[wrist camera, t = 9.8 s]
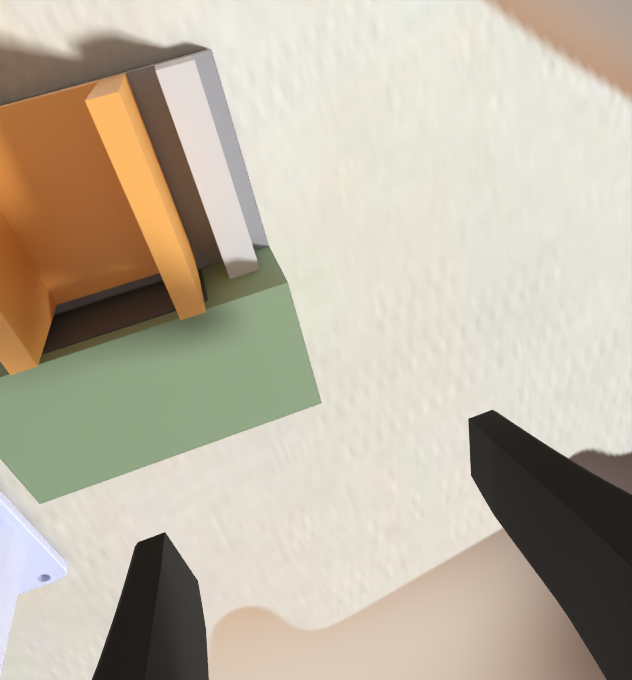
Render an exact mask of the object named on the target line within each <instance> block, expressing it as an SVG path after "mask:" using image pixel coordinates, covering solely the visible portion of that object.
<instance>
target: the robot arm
mask: <svg viewBox="0 0 632 680" xmlns="http://www.w3.org/2000/svg"><path fill="white" fill-rule="evenodd" d="M469 440H470V462H471V476H472V478H473V480H474V481H475V483H476V485H477V487H478V488H479V490H480V492H481V494H482V495H483V497H484V499H485V501H486V502H487V504H488V506H489V507H490V509H491V511H492V512H493V514H494V516H495V517H496V518H497V520H498V521H499V523H500V524H501V525H502V527H503V528H504V529H505V531H506V532H507V533H508V535H509V536H510V538H511V539H512V540H513V542H514V543H515V544H516V546H517V547H518V548H519V550H520V551H521V552H522V554H523V555H524V557H525V558H526V559H527V561H528V562H529V563H530V565H531V566H532V567H533V568H534V570H535V571H536V573H537V574H538V575H539V577H540V578H541V579H542V581H543V582H544V583H545V585H546V586H547V587H548V589H549V590H550V592H551V593H552V594H553V596H554V597H555V598H556V600H557V601H558V603H559V604H560V606H561V607H562V608H563V610H564V611H565V613H566V614H567V616H568V617H569V619H570V620H571V622H572V623H573V625H574V627H575V628H576V630H577V631H578V633H579V635H580V637H581V638H582V640H583V641H584V643H585V645H586V646H587V648H588V649H589V651H590V653H591V654H592V656H593V658H594V659H595V661H596V662H597V664H598V666H599V668H600V669H601V671H602V672H603V674H604V676H605V678H606V679H607V680H632V495H631V494H629V493H627V492H625V491H624V490H622V489H620V488H618V487H616V486H615V485H612V484H611V483H609V482H607V481H605V480H604V479H602V478H600V477H599V476H597V475H595V474H593V473H592V472H590V471H588V470H587V469H585V468H583V467H582V466H580V465H578V464H577V463H575V462H573V461H572V460H570V459H568V458H567V457H565V456H563V455H562V454H560V453H558V452H557V451H555V450H554V449H552V448H550V447H549V446H547V445H546V444H544V443H543V442H541V441H540V440H538V439H537V438H535V437H533V436H532V435H530V434H529V433H527V432H526V431H524V430H523V429H521V428H520V427H518V426H517V425H515V424H514V423H512V422H511V421H509V420H508V419H506V418H505V417H503V416H502V415H500V414H499V413H497V412H496V411H494V410H491V411H488V412H485V413H483V414H480V415H477V416H475V417H472V418H469ZM67 570H68V564H67V563H66V562H65V560H64V559H63V558H62V557H61V556H60V555H59V554H58V553H57V552H56V551H55V550H54V549H53V548H52V546H51V545H50V544H49V543H48V542H47V541H46V540H45V539H44V538H43V537H42V536H41V535H40V534H39V532H38V531H37V530H36V529H35V528H34V527H33V526H32V525H31V524H30V523H29V522H28V521H27V520H26V518H25V517H24V516H23V515H22V514H21V513H20V512H19V511H18V510H17V509H16V508H15V507H14V506H13V504H12V503H11V502H10V501H9V500H8V499H7V498H6V497H5V496H4V495H3V494H2V493H1V492H0V675H1V670H2V666H3V661H4V657H5V652H6V648H7V643H8V639H9V634H10V630H11V625H12V621H13V616H14V612H15V607H16V603H17V598H18V595H19V594H22V593H24V592H27V591H30V590H32V589H35V588H38V587H40V586H43V585H46V584H48V583H51V582H54V581H56V580H59V579H61V578H63V577H65V576H66V574H67ZM92 680H209V677H208V658H207V641H206V627H205V621H204V614H203V608H202V602H201V596H200V590H199V585H198V580H197V579H196V577H195V576H194V575H193V573H192V572H191V570H190V569H189V567H188V566H187V564H186V563H185V561H184V560H183V558H182V557H181V555H180V554H179V552H178V551H177V549H176V548H175V546H174V545H173V543H172V542H171V540H170V539H169V537H168V536H167V534H166V533H165V532H164V533H162V534H159V535H156V536H154V537H151V538H148V539H146V540H143V541H140V542H138V543H137V545H136V546H135V548H134V552H133V556H132V559H131V563H130V566H129V570H128V573H127V577H126V580H125V583H124V587H123V590H122V593H121V597H120V600H119V603H118V606H117V609H116V613H115V616H114V619H113V622H112V625H111V628H110V630H109V633H108V636H107V639H106V642H105V645H104V648H103V651H102V654H101V657H100V660H99V662H98V665H97V668H96V670H95V673H94V676H93V678H92Z"/></svg>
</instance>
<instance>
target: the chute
mask: <svg viewBox="0 0 632 680" xmlns="http://www.w3.org/2000/svg"><path fill="white" fill-rule="evenodd" d="M158 273H160V274H161V277H162V279H163V281H164V283H165V286H166V288H167V290H168V293H169V295H170V297H171V299H172V302H173V304H174V306H175V309H176V311H177V313H178V316H179V318H180V320H183V319H187V318H190V317H193V316H196V315H199V314H202V313H205V312H206V310H205V305H204V299H203V294H202V289H201V284H200V279H199V274H198V268H197V263H196V258H195V254H194V251H193V248H192V246H191V243H190V241H189V238H188V235H187V233H186V230H185V227H184V225H183V222H182V220H181V217H180V214H179V212H178V209H177V206H176V204H175V201H174V199H173V196H172V193H171V191H170V188H169V185H168V183H167V180H166V178H165V175H164V172H163V170H162V167H161V164H160V162H159V159H158V157H157V154H156V151H155V149H154V146H153V143H152V141H151V138H150V136H149V133H148V130H147V128H146V125H145V123H144V120H143V117H142V115H141V112H140V109H139V107H138V104H137V102H136V99H135V96H134V94H133V91H132V88H131V86H130V83H129V81H128V78H127V75H126V73H123V74H119V75H115V76H111V77H108V78H104V79H100V80H96V81H93V82H89V83H85V84H81V85H77V86H74V87H70V88H66V89H62V90H59V91H55V92H51V93H47V94H43V95H40V96H36V97H32V98H28V99H25V100H21V101H17V102H13V103H9V104H6V105H2V106H0V362H1V363H2V364H3V366H4V367H5V368H6V370H7V371H8V372H9V374H10V375H13V374H16V373H19V372H22V371H25V370H28V369H31V368H34V367H38V364H39V361H40V358H41V355H42V351H43V348H44V345H45V342H46V338H47V335H48V332H49V329H50V326H51V322H52V319H53V316H54V313H55V309H56V306H57V305H58V304H61V303H65V302H68V301H71V300H74V299H78V298H81V297H84V296H87V295H90V294H94V293H97V292H100V291H103V290H107V289H110V288H113V287H116V286H119V285H123V284H126V283H129V282H132V281H136V280H139V279H142V278H145V277H148V276H152V275H155V274H158Z"/></svg>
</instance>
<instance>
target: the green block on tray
mask: <svg viewBox="0 0 632 680" xmlns="http://www.w3.org/2000/svg"><path fill="white" fill-rule="evenodd" d="M123 73H126V75H127V78H128V81H129V83H130V86H131V88H132V91H133V94H134V96H135V99H136V102H137V104H138V107H139V109H140V112H141V115H142V117H143V120H144V123H145V125H146V128H147V130H148V133H149V136H150V138H151V141H152V143H153V146H154V149H155V151H156V154H157V157H158V159H159V162H160V164H161V167H162V170H163V172H164V175H165V178H166V180H167V183H168V185H169V188H170V191H171V193H172V196H173V199H174V201H175V204H176V206H177V209H178V212H179V214H180V217H181V220H182V222H183V225H184V227H185V230H186V233H187V235H188V238H189V241H190V243H191V246H192V248H193V251H194V254H195V258H196V263H197V268H198V274H199V279H200V284H201V289H202V294H203V299H204V305H205V310H206V312H205V313H202V314H199V315H196V316H193V317H190V318H187V319H183V320H180V318H179V316H178V313H177V311H176V309H175V306H174V304H173V302H172V299H171V297H170V295H169V293H168V290H167V288H166V286H165V283H164V281H163V279H162V277H161V274H160V273H158V274H155V275H152V276H148V277H145V278H142V279H139V280H136V281H132V282H129V283H126V284H123V285H119V286H116V287H113V288H110V289H107V290H103V291H100V292H97V293H94V294H90V295H87V296H84V297H81V298H78V299H74V300H71V301H68V302H65V303H61V304H58V305H57V306H56V309H55V313H54V316H53V319H52V322H51V326H50V329H49V332H48V335H47V338H46V342H45V345H44V348H43V351H42V355H41V358H40V361H39V364H38V367H34V368H31V369H28V370H25V371H22V372H19V373H16V374H13V375H10V374H9V372H8V371H7V370H6V368H5V367H4V366H3V364H2V363H1V362H0V459H1V460H2V461H3V462H4V464H5V465H6V466H7V467H8V468H9V469H10V470H11V472H12V473H13V474H14V475H15V476H16V477H17V478H18V480H19V481H20V482H21V483H22V484H23V485H24V486H25V488H26V489H27V490H28V491H29V492H30V493H31V494H32V496H33V497H34V498H35V499H36V500H37V501H38V502H39V504H42V503H44V502H47V501H50V500H53V499H56V498H58V497H61V496H64V495H67V494H70V493H72V492H75V491H78V490H81V489H83V488H86V487H89V486H92V485H95V484H97V483H100V482H103V481H106V480H109V479H111V478H114V477H117V476H120V475H123V474H125V473H128V472H131V471H134V470H137V469H139V468H142V467H145V466H148V465H150V464H153V463H156V462H159V461H162V460H164V459H167V458H170V457H173V456H176V455H178V454H181V453H184V452H187V451H190V450H192V449H195V448H198V447H201V446H203V445H206V444H209V443H212V442H215V441H217V440H220V439H223V438H226V437H229V436H231V435H234V434H237V433H240V432H243V431H245V430H248V429H251V428H254V427H256V426H259V425H262V424H265V423H268V422H270V421H273V420H276V419H279V418H282V417H284V416H287V415H290V414H293V413H296V412H298V411H301V410H304V409H307V408H309V407H312V406H315V405H318V404H321V403H322V402H321V399H320V395H319V392H318V388H317V385H316V381H315V378H314V374H313V370H312V367H311V363H310V360H309V356H308V353H307V349H306V346H305V342H304V338H303V335H302V331H301V328H300V324H299V321H298V317H297V314H296V310H295V306H294V303H293V299H292V296H291V292H290V289H289V285H288V282H287V280H286V278H285V276H284V274H283V272H282V270H281V268H280V267H279V265H278V263H277V261H276V259H275V257H274V255H273V253H272V251H271V249H270V247H269V245H268V241H267V238H266V235H265V231H264V228H263V224H262V221H261V217H260V214H259V211H258V207H257V204H256V200H255V197H254V194H253V190H252V187H251V183H250V180H249V176H248V173H247V170H246V166H245V163H244V159H243V156H242V152H241V149H240V146H239V142H238V139H237V135H236V132H235V129H234V125H233V122H232V118H231V115H230V111H229V108H228V105H227V101H226V98H225V94H224V91H223V87H222V84H221V81H220V77H219V74H218V70H217V67H216V64H215V60H214V57H213V53H212V50H211V49H206V50H202V51H199V52H195V53H191V54H188V55H184V56H180V57H177V58H173V59H169V60H166V61H162V62H159V63H155V64H151V65H148V66H144V67H140V68H137V69H133V70H129V71H126V72H122V73H119V74H123ZM119 74H115V75H119ZM115 75H111V76H115ZM111 76H108V77H111ZM108 77H104V78H108ZM104 78H100V79H104ZM100 79H97V80H100ZM93 81H96V80H93ZM93 81H89V82H93ZM89 82H86V83H89ZM82 84H85V83H82ZM78 85H81V84H78ZM75 86H77V85H75ZM71 87H74V86H71ZM68 88H70V87H68ZM64 89H66V88H64ZM60 90H62V89H60ZM57 91H59V90H57ZM53 92H55V91H53ZM49 93H51V92H49ZM46 94H47V93H46ZM42 95H43V94H42ZM38 96H40V95H38ZM35 97H36V96H35ZM31 98H32V97H31ZM24 100H25V99H24ZM20 101H21V100H20Z"/></svg>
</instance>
